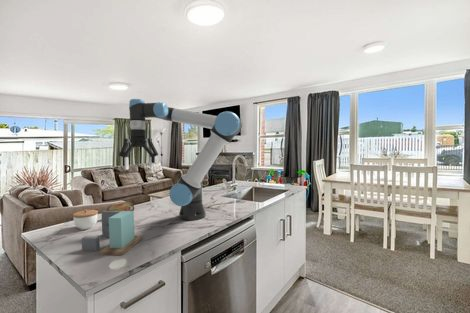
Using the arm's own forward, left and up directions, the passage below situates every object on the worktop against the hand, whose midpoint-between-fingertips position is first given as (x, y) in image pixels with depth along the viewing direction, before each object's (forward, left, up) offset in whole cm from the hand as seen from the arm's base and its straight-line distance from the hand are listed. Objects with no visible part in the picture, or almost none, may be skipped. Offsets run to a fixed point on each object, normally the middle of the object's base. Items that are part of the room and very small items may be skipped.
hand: (139, 169), depth 127 cm
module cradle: (+5, +26, -29) cm, 39 cm away
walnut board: (-6, +29, -29) cm, 41 cm away
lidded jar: (+25, +8, -29) cm, 39 cm away
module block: (-6, +29, -28) cm, 40 cm away
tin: (+17, -10, -29) cm, 35 cm away
